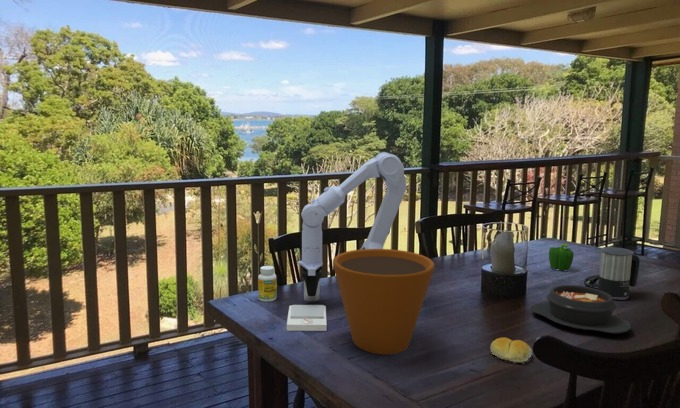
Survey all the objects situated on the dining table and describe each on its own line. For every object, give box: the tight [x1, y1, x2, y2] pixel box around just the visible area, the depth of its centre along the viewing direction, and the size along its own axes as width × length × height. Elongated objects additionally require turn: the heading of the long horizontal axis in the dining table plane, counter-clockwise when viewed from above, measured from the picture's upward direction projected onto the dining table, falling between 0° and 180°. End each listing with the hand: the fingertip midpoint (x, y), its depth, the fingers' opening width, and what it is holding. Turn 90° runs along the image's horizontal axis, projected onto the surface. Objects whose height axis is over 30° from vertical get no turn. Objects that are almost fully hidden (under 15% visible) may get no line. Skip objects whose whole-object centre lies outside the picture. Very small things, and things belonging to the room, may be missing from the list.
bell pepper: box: [548, 243, 574, 271], centre depth 193 cm, size 8×8×10 cm
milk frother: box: [583, 246, 640, 297], centre depth 168 cm, size 14×16×15 cm
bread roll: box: [489, 336, 533, 362], centre depth 121 cm, size 8×9×4 cm
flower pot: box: [332, 248, 435, 355], centre depth 126 cm, size 24×24×20 cm
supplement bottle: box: [257, 265, 278, 303], centre depth 155 cm, size 5×5×10 cm
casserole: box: [530, 284, 632, 335], centre depth 141 cm, size 25×19×8 cm
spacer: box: [303, 278, 321, 302], centre depth 151 cm, size 4×4×6 cm
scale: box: [286, 304, 328, 332], centre depth 139 cm, size 10×14×2 cm
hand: (311, 292), depth 151 cm, fingers closed on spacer, 4 cm apart
